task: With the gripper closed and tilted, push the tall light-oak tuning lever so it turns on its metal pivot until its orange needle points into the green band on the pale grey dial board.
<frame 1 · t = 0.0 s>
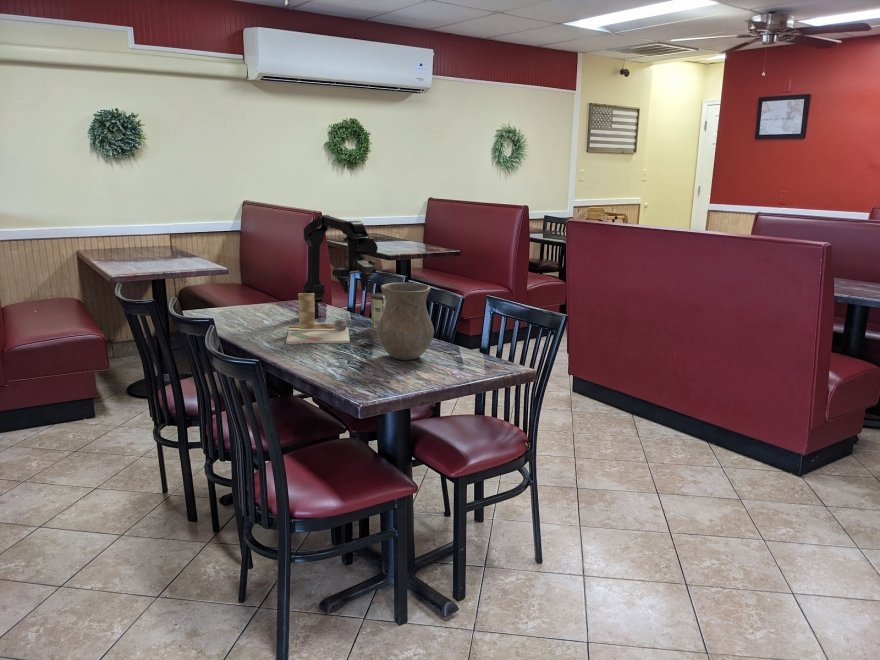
hand: (354, 292, 278), 15 cm above the table, tool pointing down, fingers open, 9 cm apart
coffee can: (384, 329, 280), on the table
candy box: (400, 337, 267), on the table
tuning lever: (317, 311, 270), point 8 cm above the table, hinge at 0.0°
dial board: (340, 332, 273), on the table
vase: (405, 358, 239), on the table
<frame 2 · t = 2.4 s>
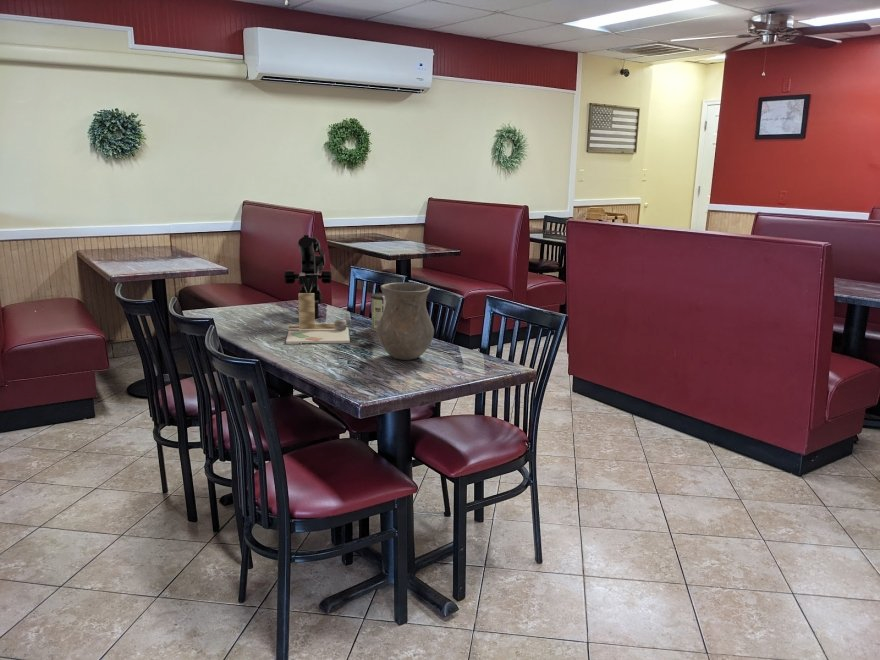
hand: (308, 294, 278), 13 cm above the table, tool tilted 45°, fingers closed
nothing on the table moved.
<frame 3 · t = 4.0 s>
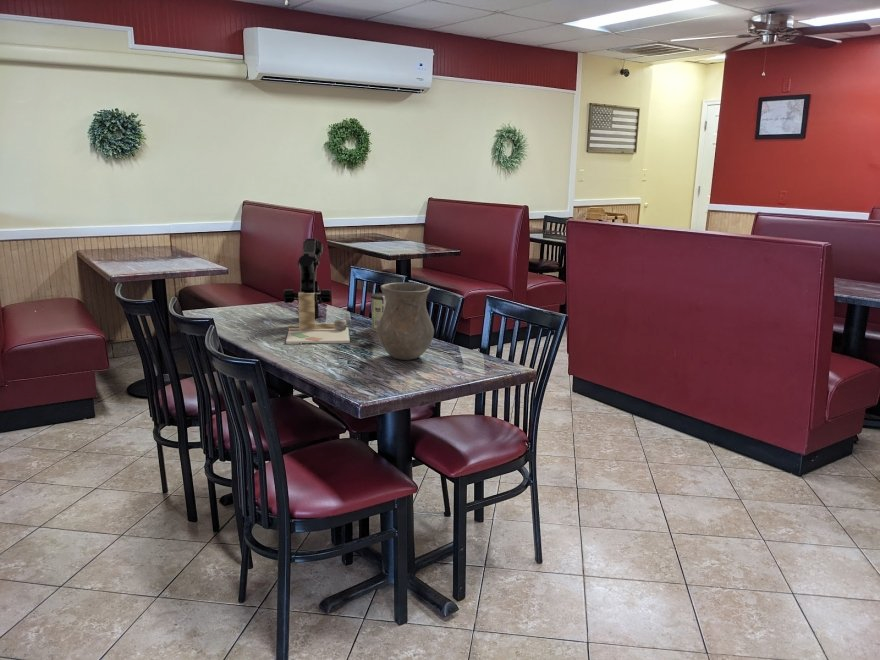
hand: (307, 313, 274), 7 cm above the table, tool tilted 45°, fingers closed
nothing on the table moved.
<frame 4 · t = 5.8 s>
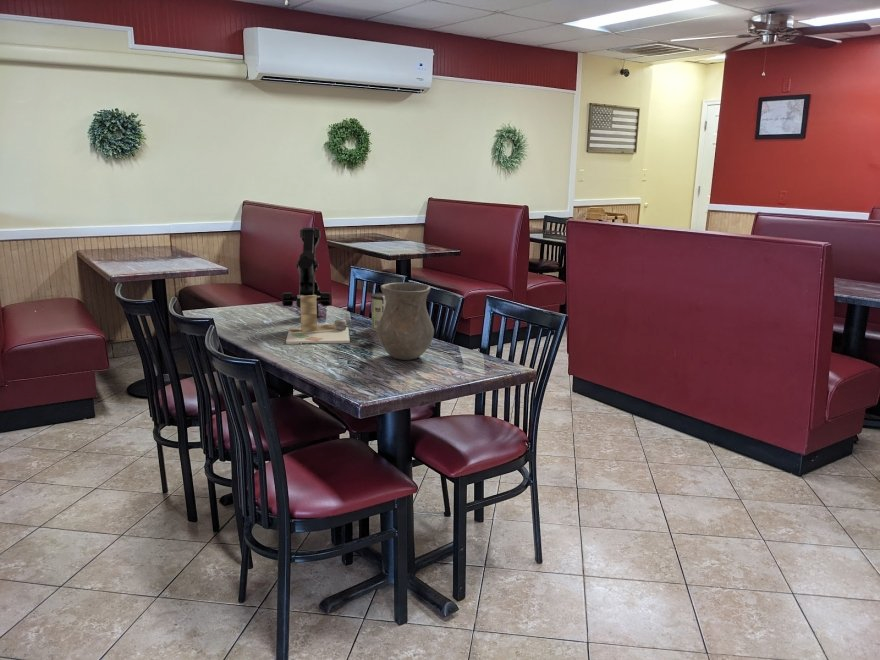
hand: (306, 317, 266), 7 cm above the table, tool tilted 45°, fingers closed
tuning lever: (318, 312, 267), point 8 cm above the table, hinge at 21.6°, touching gripper
everything else where it was.
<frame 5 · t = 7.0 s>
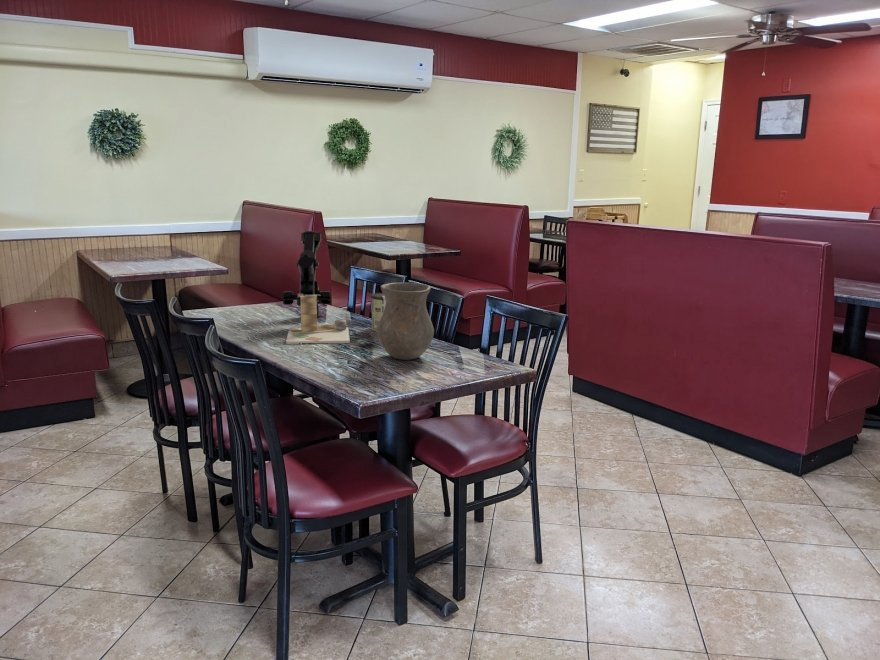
hand: (306, 315, 269), 7 cm above the table, tool tilted 45°, fingers closed
tuning lever: (319, 312, 267), point 9 cm above the table, hinge at 22.2°
everything else where it was.
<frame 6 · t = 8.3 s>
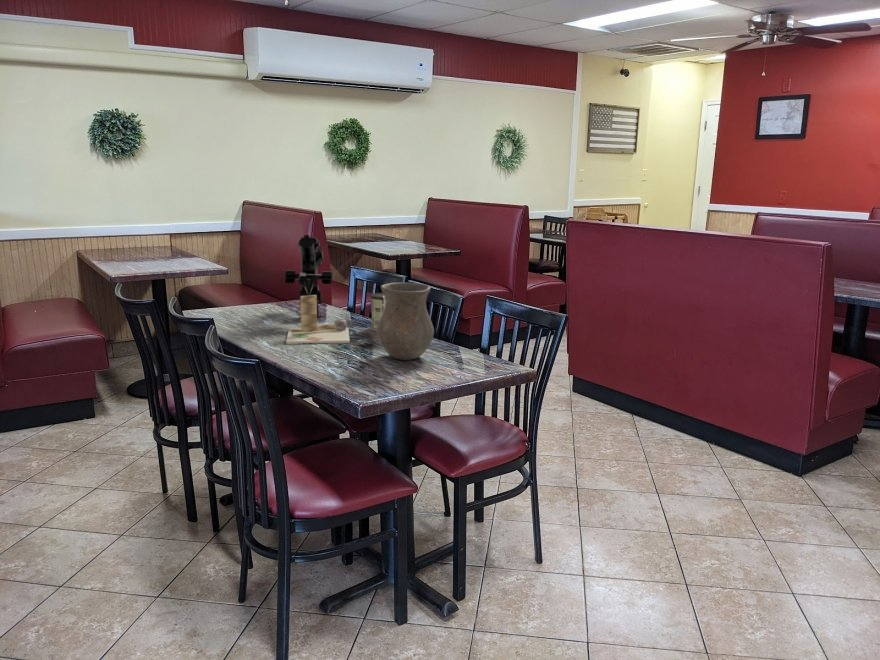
hand: (308, 294, 277), 13 cm above the table, tool tilted 45°, fingers closed
nothing on the table moved.
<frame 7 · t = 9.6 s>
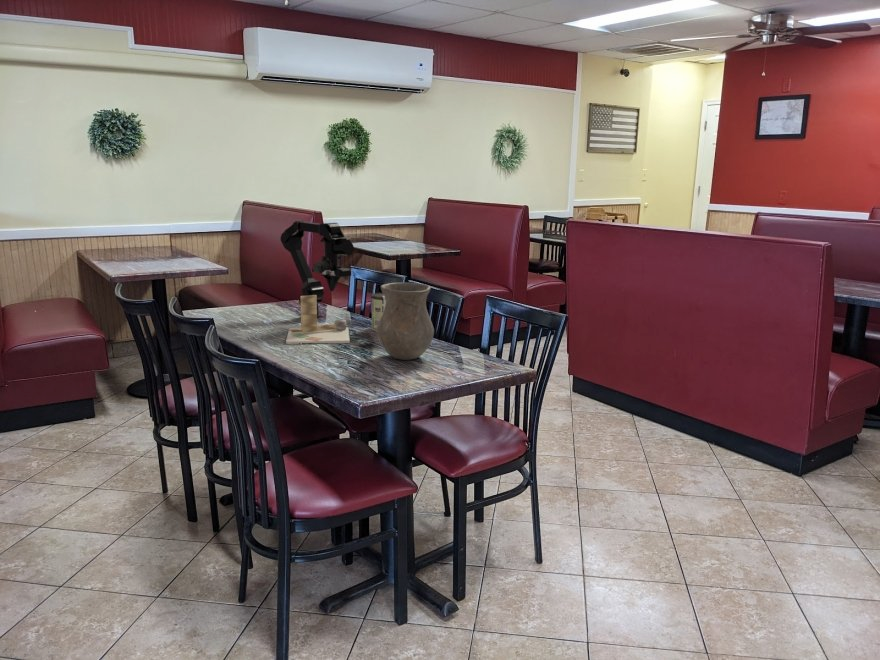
hand: (331, 291, 289), 13 cm above the table, tool pointing down, fingers closed
nothing on the table moved.
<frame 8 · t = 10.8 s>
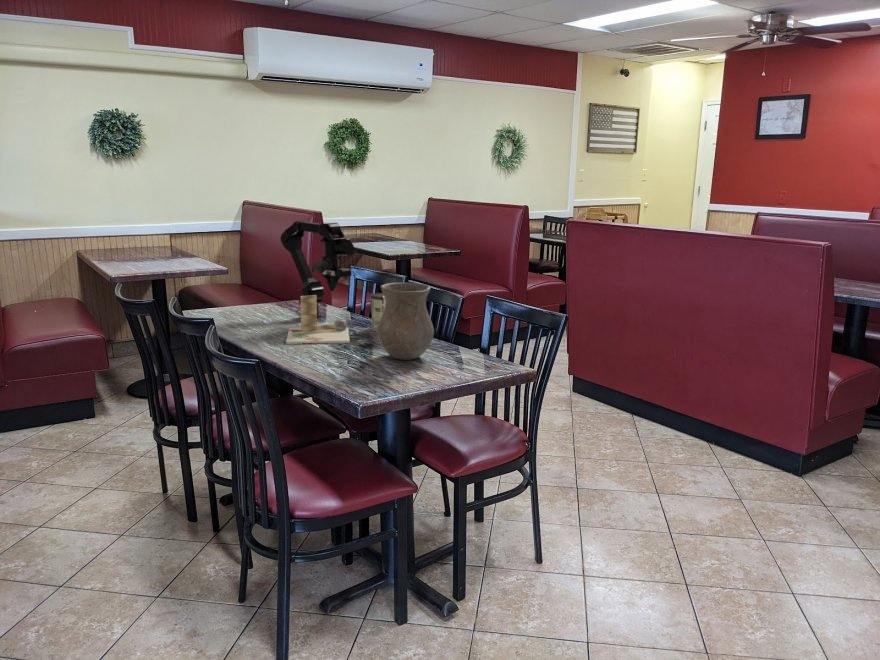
hand: (332, 291, 289), 13 cm above the table, tool pointing down, fingers closed
nothing on the table moved.
at the end: tuning lever at +22° (first picture: +0°) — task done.
